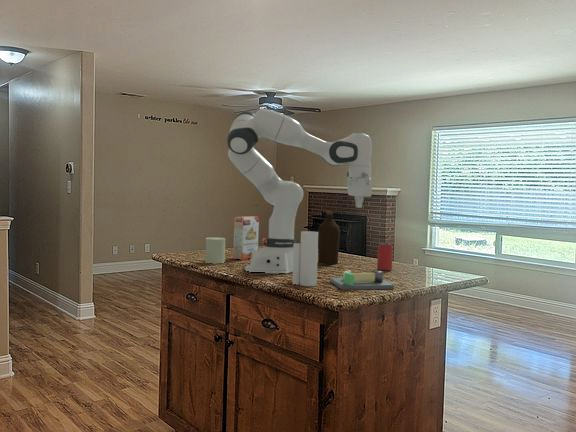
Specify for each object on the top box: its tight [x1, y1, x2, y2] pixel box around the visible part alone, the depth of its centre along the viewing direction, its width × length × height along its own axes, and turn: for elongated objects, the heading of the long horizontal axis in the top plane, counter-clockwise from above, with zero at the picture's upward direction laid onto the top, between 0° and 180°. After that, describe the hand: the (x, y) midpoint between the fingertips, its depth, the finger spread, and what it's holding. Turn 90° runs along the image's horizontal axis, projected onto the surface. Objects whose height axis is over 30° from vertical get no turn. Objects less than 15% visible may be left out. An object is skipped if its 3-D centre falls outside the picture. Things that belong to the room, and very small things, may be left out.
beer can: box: [376, 242, 394, 272], centre depth 245 cm, size 7×7×12 cm
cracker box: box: [232, 215, 260, 261], centre depth 268 cm, size 14×6×21 cm, turn 150°
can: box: [204, 236, 226, 264], centre depth 252 cm, size 9×9×12 cm
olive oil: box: [317, 210, 341, 266], centre depth 260 cm, size 11×11×25 cm
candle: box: [291, 230, 318, 287], centre depth 205 cm, size 11×7×20 cm, turn 50°
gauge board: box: [329, 269, 395, 291], centre depth 206 cm, size 20×16×6 cm
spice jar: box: [352, 270, 384, 283], centre depth 204 cm, size 13×4×4 cm, turn 111°
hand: (358, 207), depth 220 cm, fingers closed
